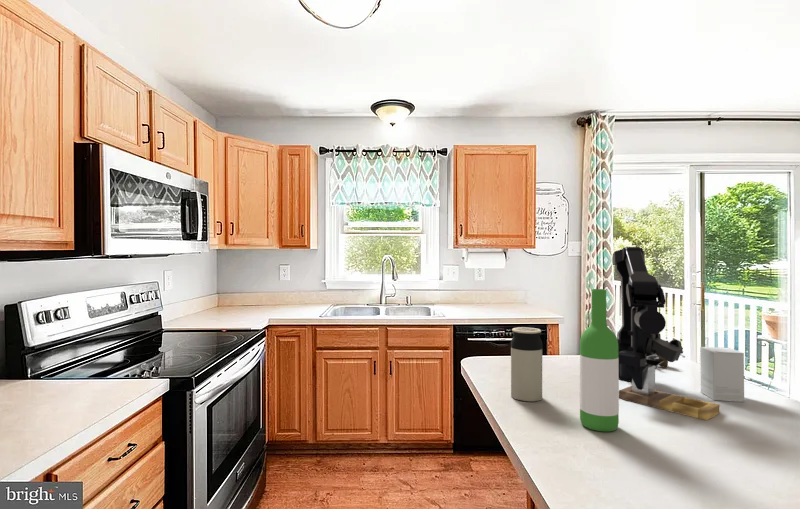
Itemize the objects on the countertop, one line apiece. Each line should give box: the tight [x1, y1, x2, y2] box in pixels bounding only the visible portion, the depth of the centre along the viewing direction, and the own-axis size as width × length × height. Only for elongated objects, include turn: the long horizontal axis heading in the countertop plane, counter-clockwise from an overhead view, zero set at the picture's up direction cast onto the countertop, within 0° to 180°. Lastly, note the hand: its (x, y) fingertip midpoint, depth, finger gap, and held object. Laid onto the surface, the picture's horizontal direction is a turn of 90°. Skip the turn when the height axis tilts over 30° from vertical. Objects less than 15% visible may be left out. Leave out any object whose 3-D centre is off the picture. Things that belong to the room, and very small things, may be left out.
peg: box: [631, 364, 656, 396], centre depth 115 cm, size 4×4×9 cm
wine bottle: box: [579, 288, 620, 433], centre depth 97 cm, size 8×8×30 cm
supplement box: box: [699, 346, 745, 403], centre depth 117 cm, size 7×7×13 cm
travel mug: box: [510, 326, 543, 403], centre depth 116 cm, size 8×8×18 cm
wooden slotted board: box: [619, 385, 720, 421], centre depth 110 cm, size 20×8×2 cm, turn 37°
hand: (643, 387), depth 115 cm, fingers closed on peg, 4 cm apart
